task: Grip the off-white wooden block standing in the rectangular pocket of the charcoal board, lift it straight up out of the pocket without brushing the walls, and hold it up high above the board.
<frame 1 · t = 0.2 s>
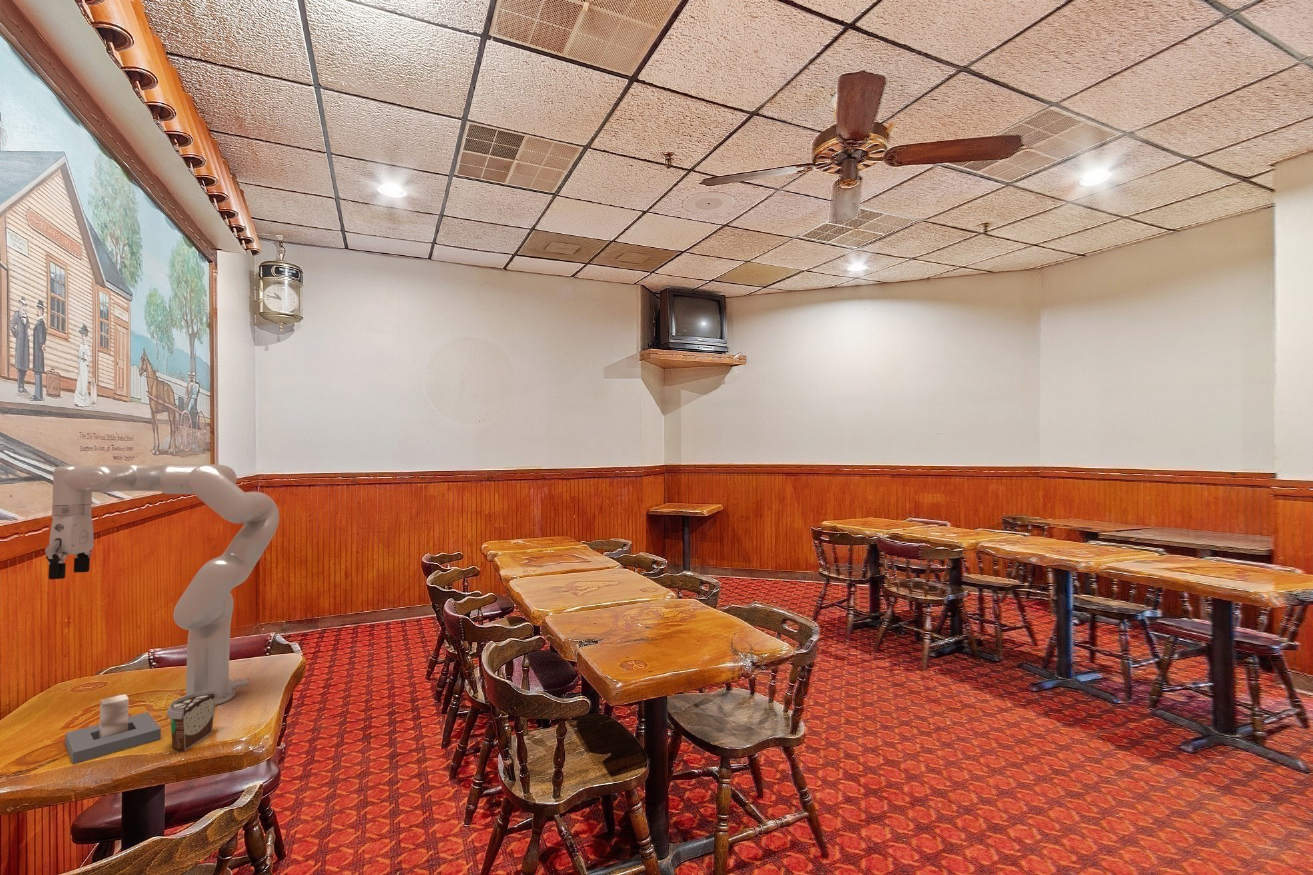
hand: (69, 575, 156), 37 cm above the table, tool pointing down, fingers open, 9 cm apart
charcoal pocket board: (113, 741, 139), on the table
food container: (185, 742, 139), on the table
off-white block: (113, 720, 140), in the charcoal pocket board
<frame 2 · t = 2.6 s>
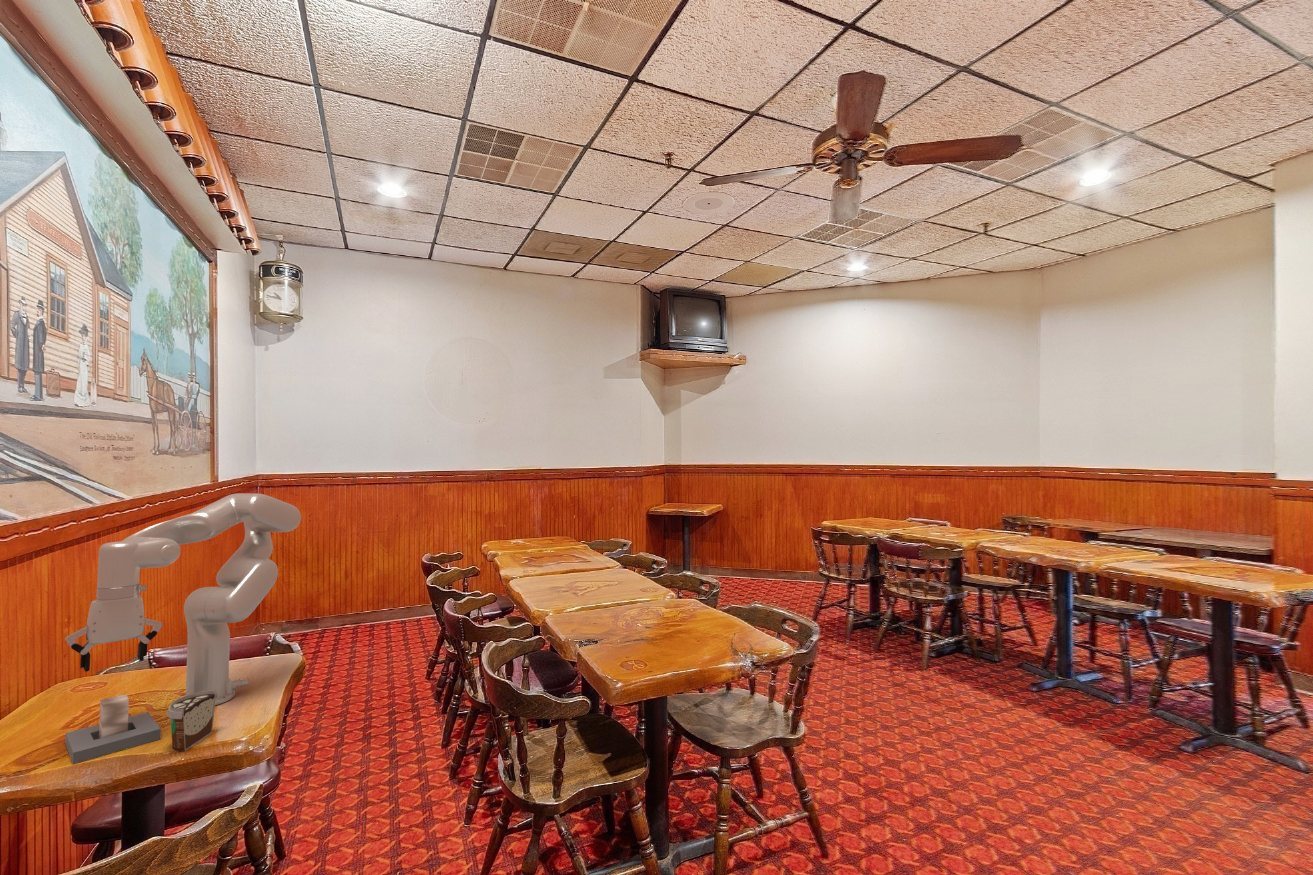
hand: (114, 664, 140), 18 cm above the table, tool pointing down, fingers open, 9 cm apart
nothing on the table moved.
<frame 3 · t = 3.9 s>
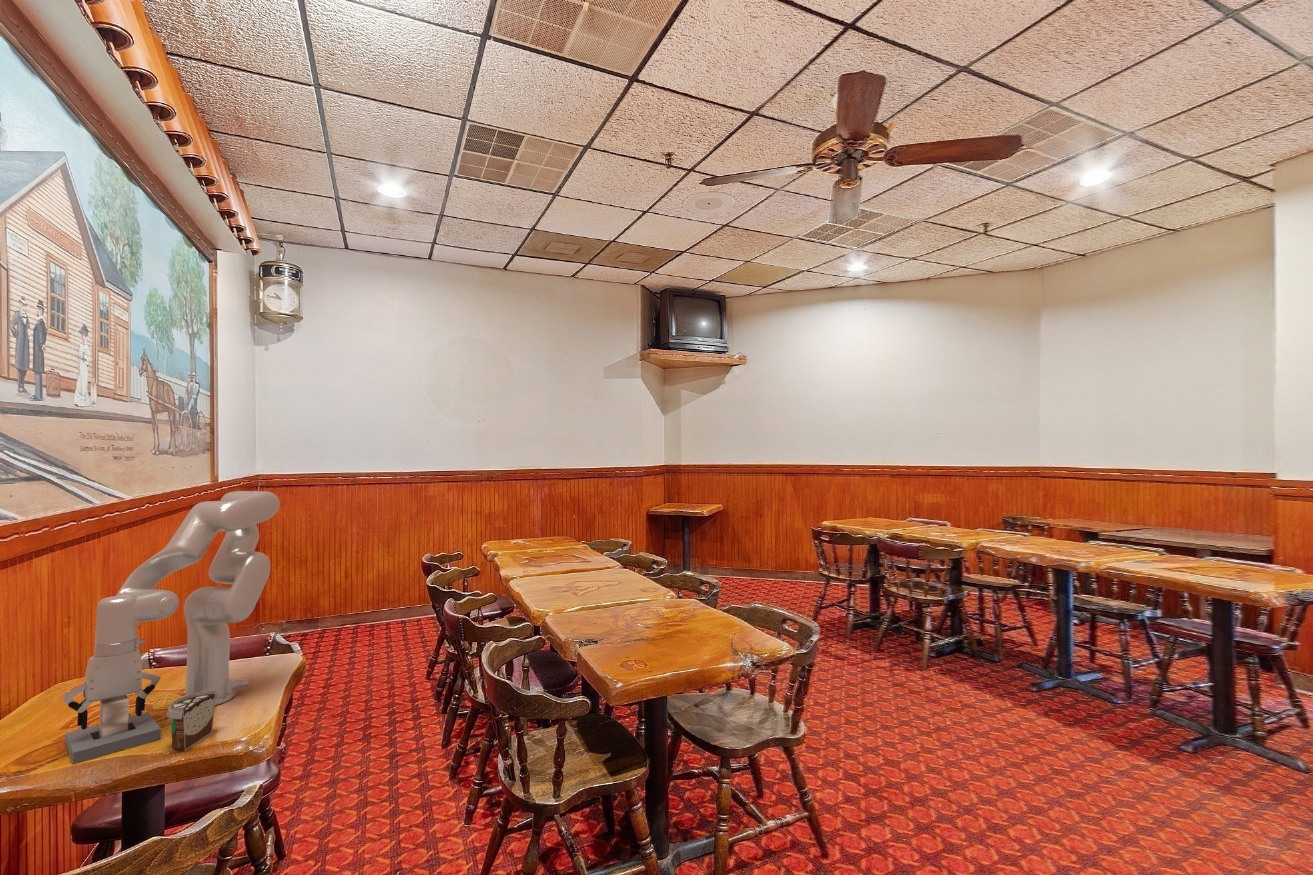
hand: (111, 720, 139), 5 cm above the table, tool pointing down, fingers open, 9 cm apart
nothing on the table moved.
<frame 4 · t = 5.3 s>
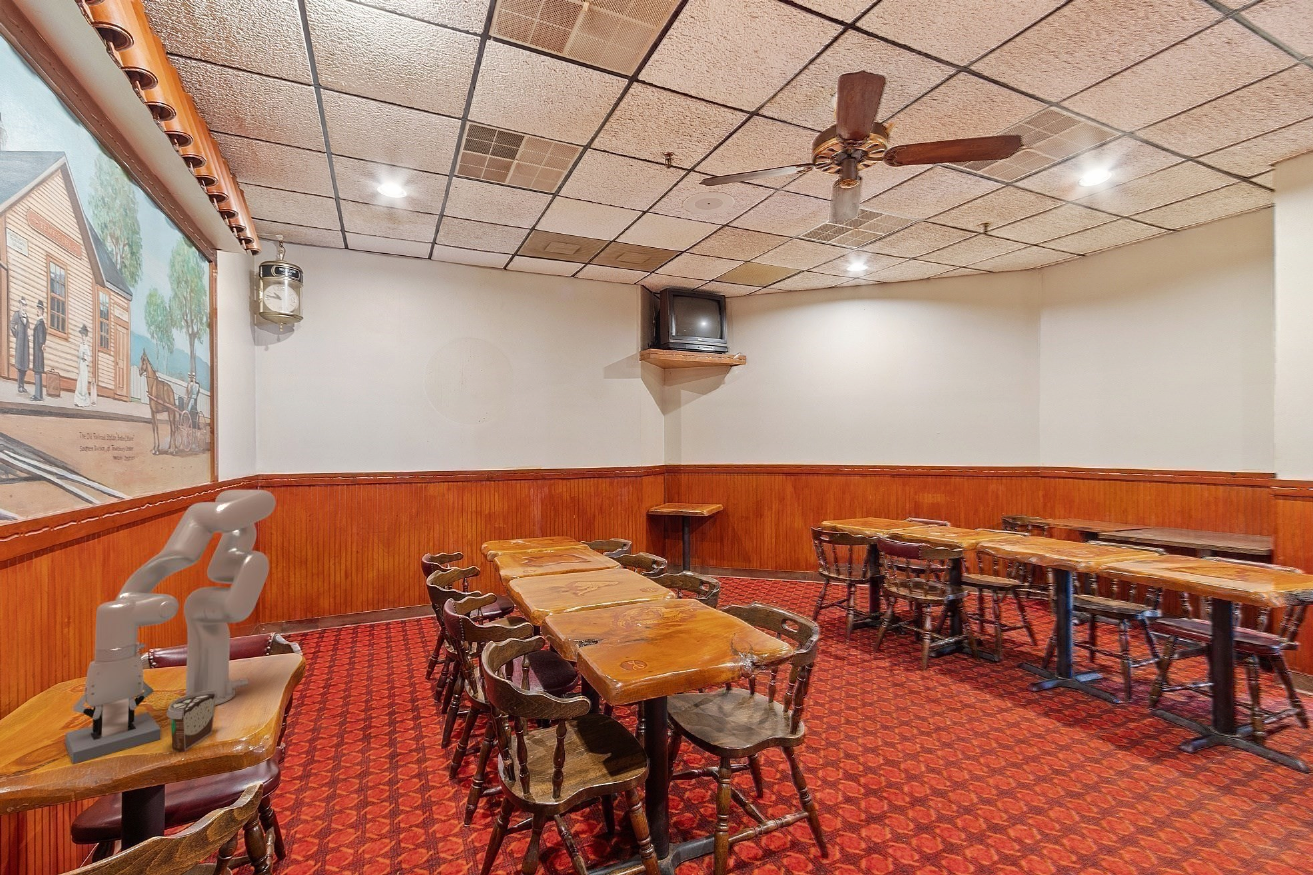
hand: (113, 729, 140), 3 cm above the table, tool pointing down, fingers closed on off-white block, 4 cm apart
off-white block: (113, 720, 140), in the charcoal pocket board, touching gripper
everything else where it was.
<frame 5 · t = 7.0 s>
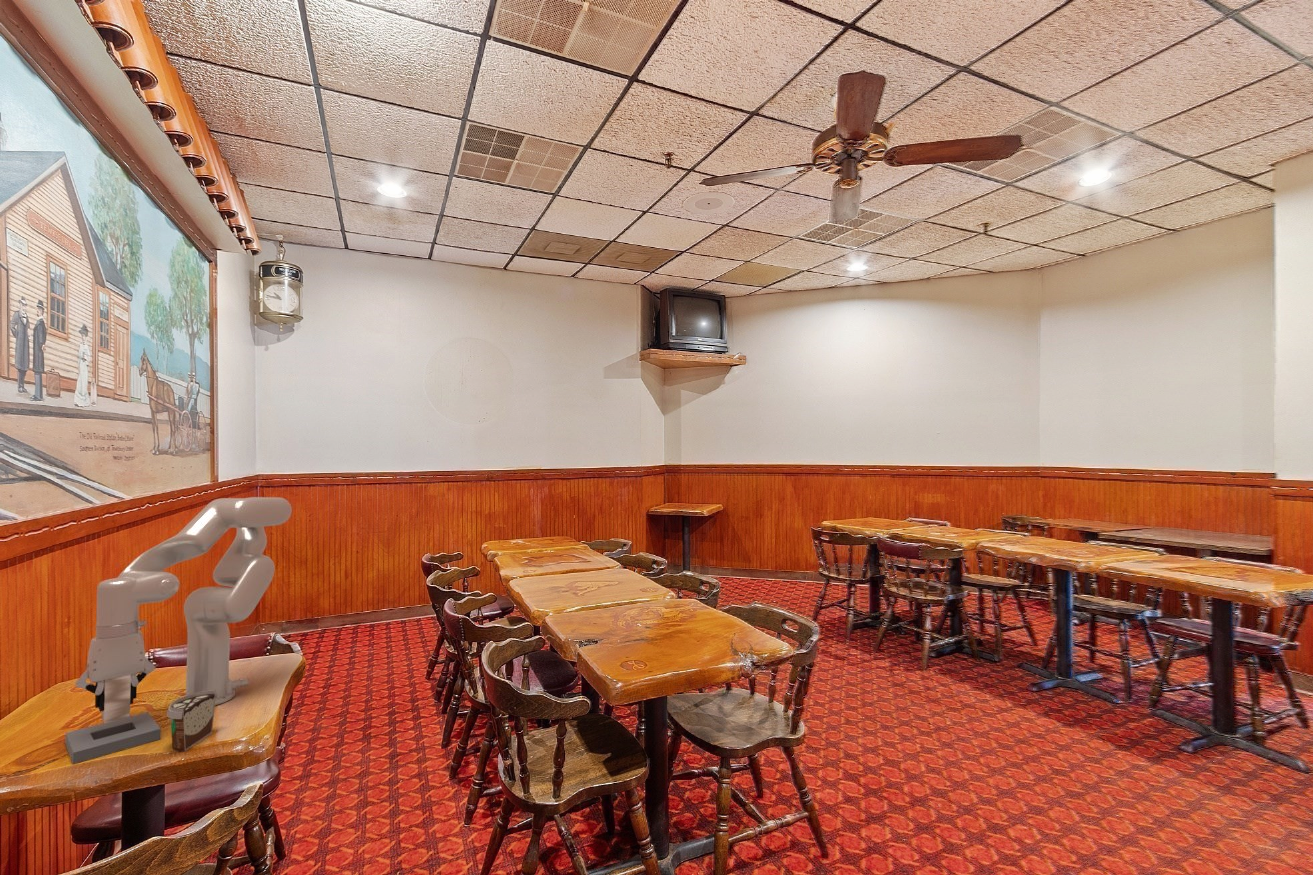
hand: (115, 705, 140), 8 cm above the table, tool pointing down, fingers closed on off-white block, 4 cm apart
off-white block: (116, 696, 140), point 10 cm above the table, touching gripper
everything else where it was.
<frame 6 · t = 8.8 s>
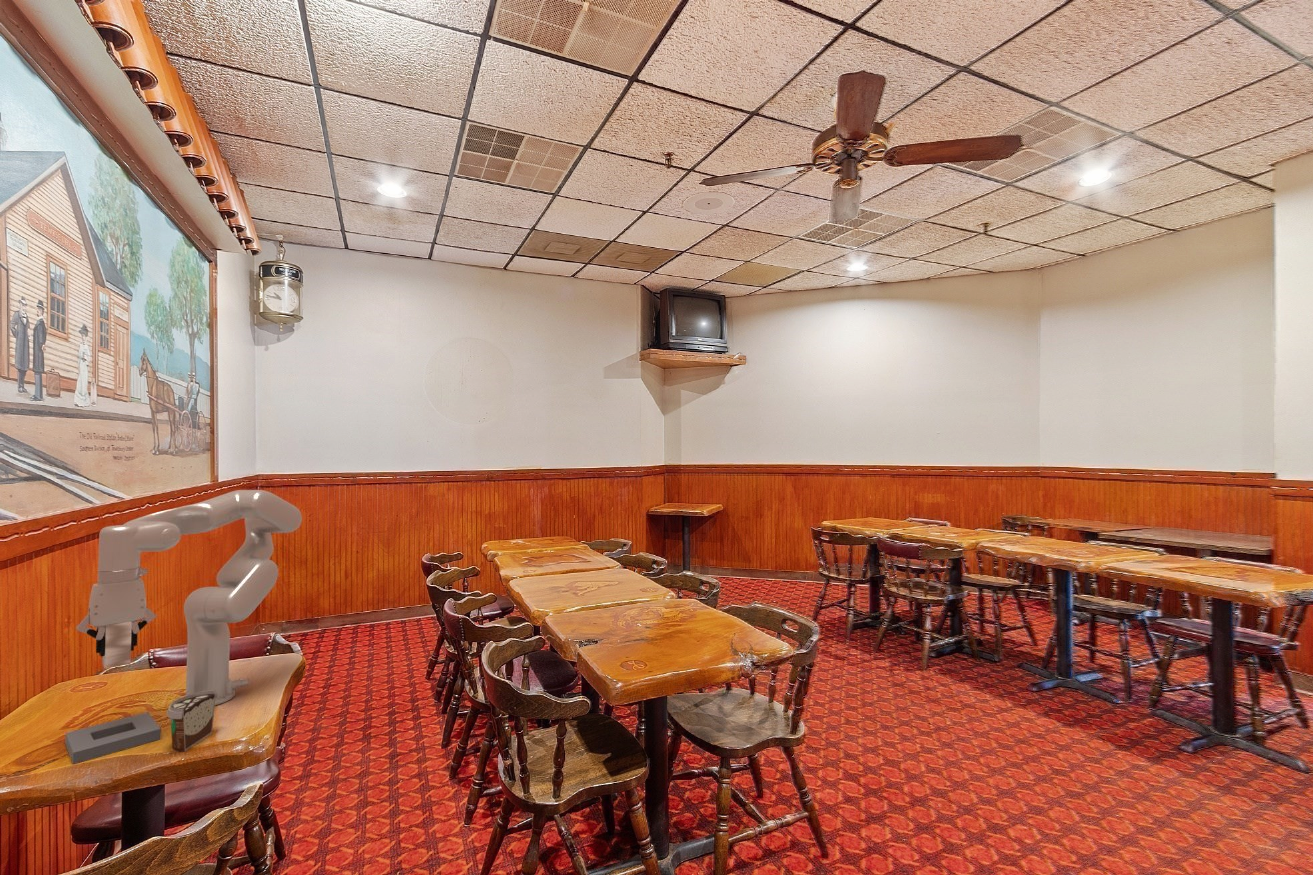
hand: (116, 651, 140), 21 cm above the table, tool pointing down, fingers closed on off-white block, 4 cm apart
off-white block: (116, 642, 140), point 23 cm above the table, touching gripper
everything else where it was.
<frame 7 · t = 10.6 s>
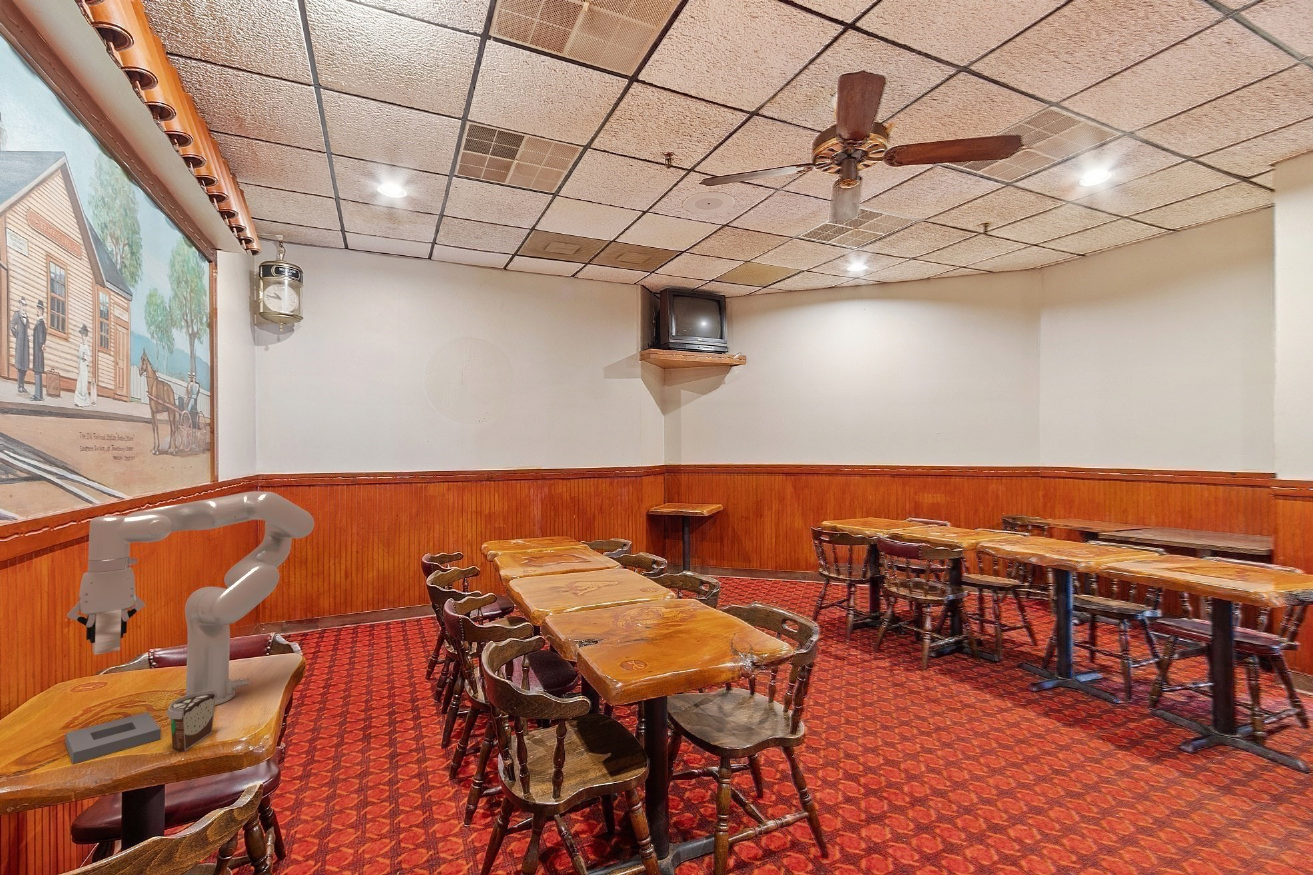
hand: (106, 638, 144), 23 cm above the table, tool pointing down, fingers closed on off-white block, 4 cm apart
off-white block: (106, 630, 144), point 25 cm above the table, touching gripper
everything else where it was.
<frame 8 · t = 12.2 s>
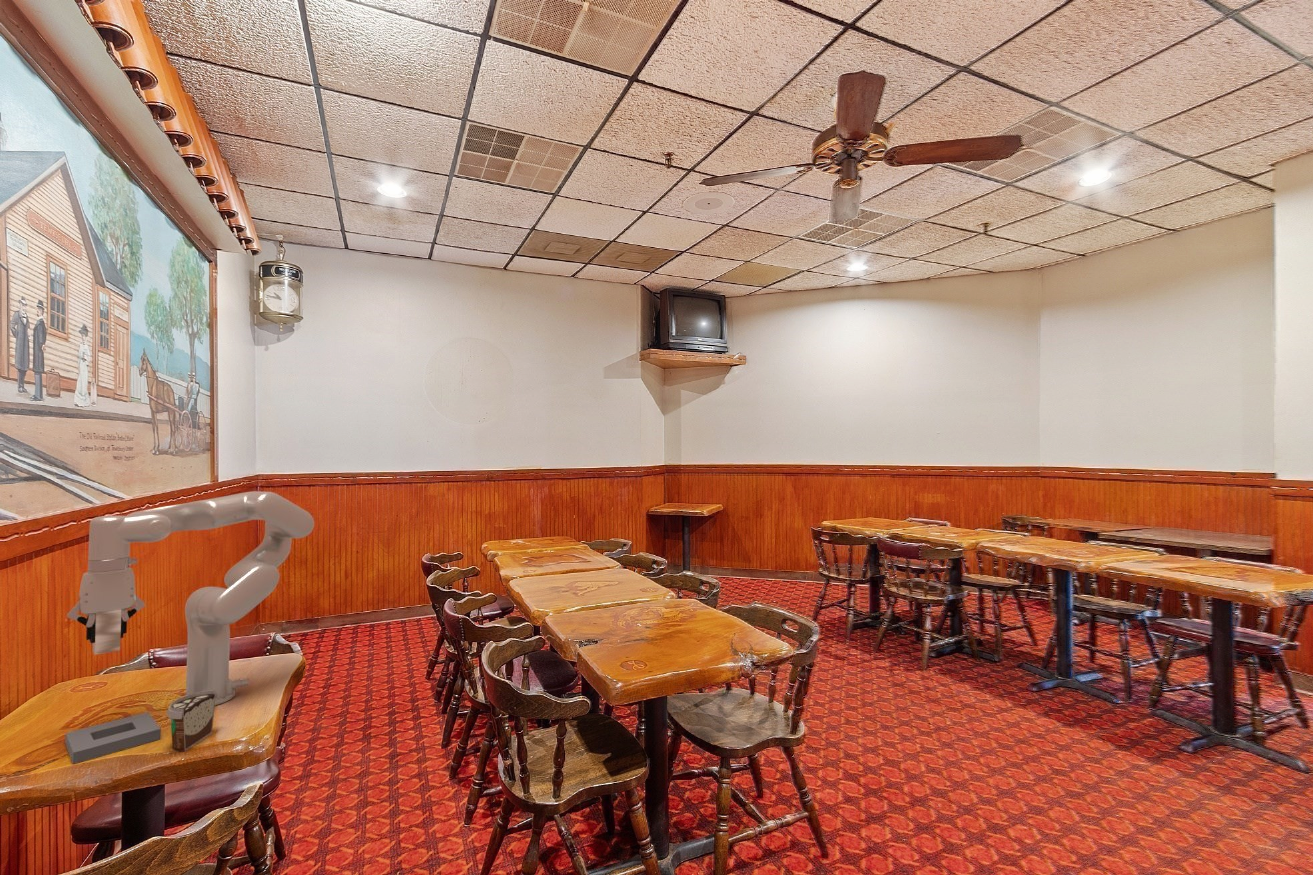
hand: (106, 638, 144), 23 cm above the table, tool pointing down, fingers closed on off-white block, 4 cm apart
off-white block: (106, 630, 144), point 25 cm above the table, touching gripper
everything else where it was.
at the end: off-white block point 25.4 cm above the table; the gripper is holding off-white block; off-white block touching gripper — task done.
